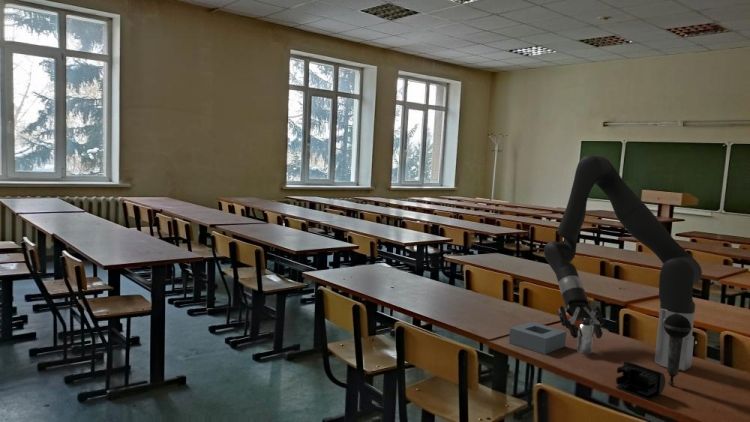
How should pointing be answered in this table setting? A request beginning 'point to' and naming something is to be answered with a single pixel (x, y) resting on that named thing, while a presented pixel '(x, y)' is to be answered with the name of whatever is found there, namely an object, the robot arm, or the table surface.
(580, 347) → the silver bottle
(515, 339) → the grey block with hole
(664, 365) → the robot arm
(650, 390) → the end cap
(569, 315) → the pumpkin
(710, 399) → the table surface
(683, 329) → the microphone
